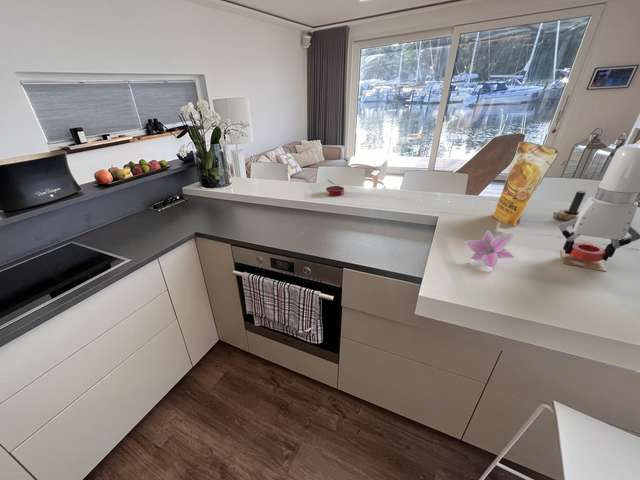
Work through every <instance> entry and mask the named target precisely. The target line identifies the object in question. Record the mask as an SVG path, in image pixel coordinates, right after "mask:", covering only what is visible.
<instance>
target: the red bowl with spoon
mask: <svg viewBox="0 0 640 480" xmlns="http://www.w3.org/2000/svg"><path fill="white" fill-rule="evenodd" d="M327 182H329V183H330V184H332V185H331V186H328V187H326V188H325V195H326V196H328V197H341V196H343V195H344V194H345V187H343V186H341V185H338V184H335V183H333V182H332V181H331V180H330V179H329V178H328V179H327Z"/></svg>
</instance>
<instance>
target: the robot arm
mask: <svg viewBox="0 0 640 480" xmlns="http://www.w3.org/2000/svg"><path fill="white" fill-rule="evenodd" d="M639 200H640V139H638V140H637V141H636V142H635V143H628V144H623V145H622V146H621V145H620V146H619V147H617V149H616V151H615V152H614V154H613V156H612V158H611V160H610V163H609V165H608V167H607V169H606V171H605V173H604V175H603V177H602V179H601V180H600V183H599V185H598V187H597V190H596V192H595V194H594V196H590V197H588V199H587V200H586V201H585V203H584V204H583V205H582V207H581V208H580V210H579V211H580V212H579V213H578V215H577V217H576V219H573V220H570V221H567V222H566V221H563V222H561V223H559V224H558V227H557V228H558V229H559V230H560V232H561V234H562V235H563V236H564V238H565V239H566V240H565V243H564V244H563V247H562V250H564V251H565V254H569V253H570V251H571V249H572V246H573V244H574V243H575V240H576V239H578V238H579V237H581V236H586V237H592V238H599V239H607V240H608V239H609V240H610V243H608V244H607V245H606V247H605V249H606V252H607V253H606V254H605V256H604V258H603V261H605V262H607V261H608V259H609V258H612V257H613V255H614V254H615V252H616V250H617V249H620V248H621V247H624V246H627V245H629V244H631V243H633V242H636V241H638V240H640V233H639V231H637V230H636V229H635V228H634V227H633V226H632V223H633V221H634V218H635V216H636V213H637V210H638V205H639V202H638V201H639ZM569 227H571V228H572V229H573V230H572V231H571V232H570V231H569V230H568V229H567V228H569ZM627 233H628V234H629V236H627V237H626V235H627Z"/></svg>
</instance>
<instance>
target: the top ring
mask: <svg viewBox="0 0 640 480" xmlns="http://www.w3.org/2000/svg"><path fill="white" fill-rule="evenodd" d="M606 253H607V252H606V248H604V247H602V246H600V245H597V244H593V243H590V242H589V243H588V242H574V244H573V246H572V249H571V251H570V253H569V255H570V256H572V257H574V258H577V259H580V260H583V261H589V262H599V261H601V260H603V258H604V256H605V254H606ZM603 261H604V260H603Z"/></svg>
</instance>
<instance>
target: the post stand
mask: <svg viewBox="0 0 640 480" xmlns="http://www.w3.org/2000/svg"><path fill="white" fill-rule="evenodd" d="M586 193H587V192H586V191H584V190H577V191H576V192H575V195H574V196H573V199H572V201H571V203H570V206H569V208H568V209H569V210H568V212H567V214H571V215H576V213H577V211H579V209H580V207H581V204H582V202H583V200H584V198H585V196H586ZM557 214H558V212H556V211H554V212H553V220H554V221H559V222H567V221H566V220H563V219H560V218H558V217H557Z"/></svg>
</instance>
